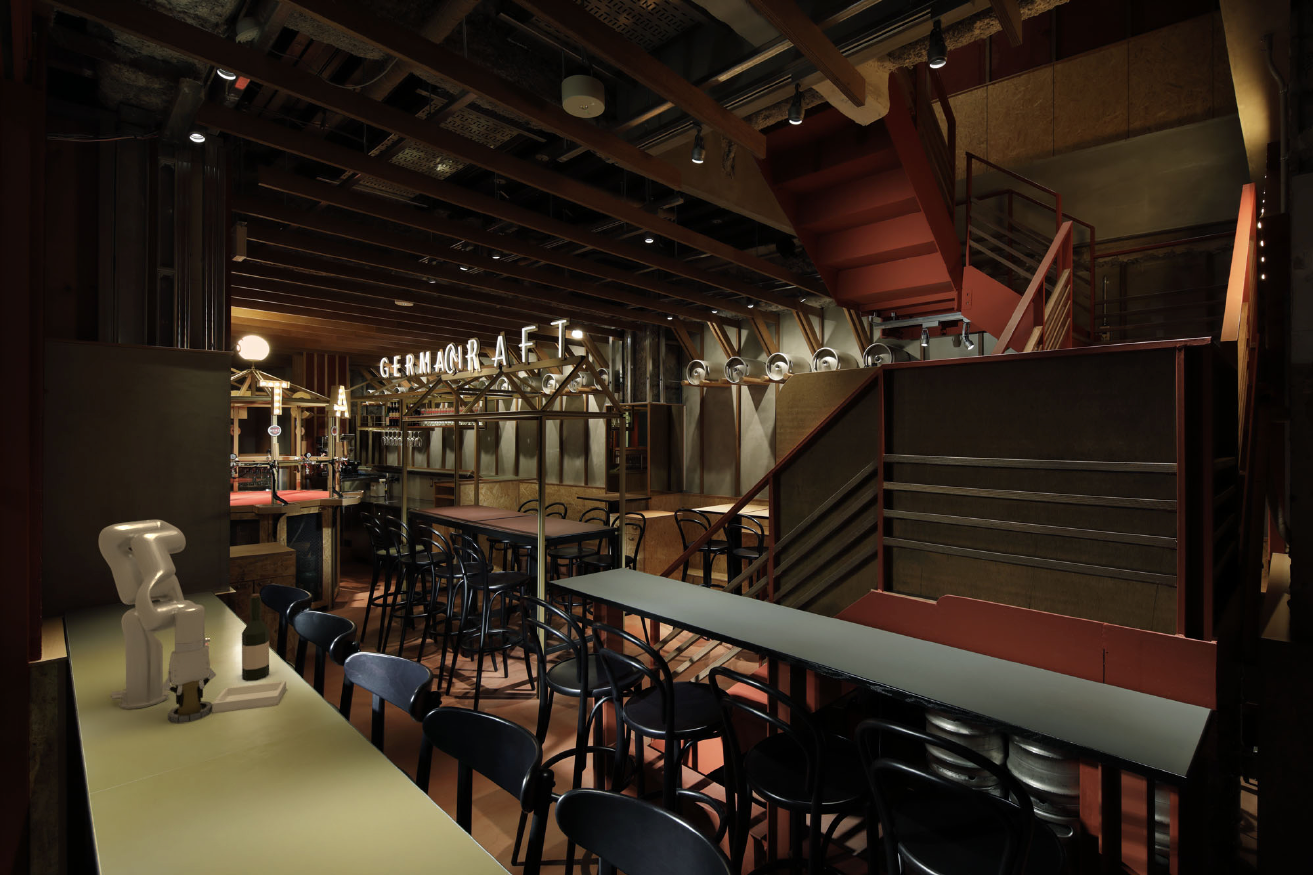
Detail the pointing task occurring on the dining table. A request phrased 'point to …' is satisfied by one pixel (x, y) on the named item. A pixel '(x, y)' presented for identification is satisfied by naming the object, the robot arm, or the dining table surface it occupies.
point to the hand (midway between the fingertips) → (189, 702)
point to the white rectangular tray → (249, 696)
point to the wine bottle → (255, 644)
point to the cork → (190, 698)
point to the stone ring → (190, 717)
